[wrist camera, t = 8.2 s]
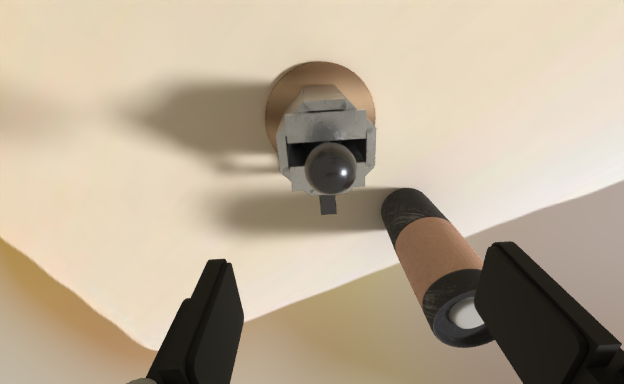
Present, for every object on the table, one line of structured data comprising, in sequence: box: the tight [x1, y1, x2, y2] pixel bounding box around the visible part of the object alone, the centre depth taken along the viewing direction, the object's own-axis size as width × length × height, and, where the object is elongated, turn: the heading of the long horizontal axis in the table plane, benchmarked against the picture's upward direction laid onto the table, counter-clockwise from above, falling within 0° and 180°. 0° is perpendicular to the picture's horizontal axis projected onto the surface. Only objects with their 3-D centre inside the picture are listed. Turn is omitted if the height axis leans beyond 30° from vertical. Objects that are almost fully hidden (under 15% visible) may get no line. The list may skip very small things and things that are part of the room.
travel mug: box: [381, 188, 495, 348], centre depth 34 cm, size 8×8×20 cm
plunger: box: [301, 109, 357, 195], centre depth 27 cm, size 6×6×15 cm
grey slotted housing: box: [276, 84, 376, 215], centre depth 32 cm, size 12×9×13 cm
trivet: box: [265, 62, 375, 153], centre depth 37 cm, size 14×14×1 cm
